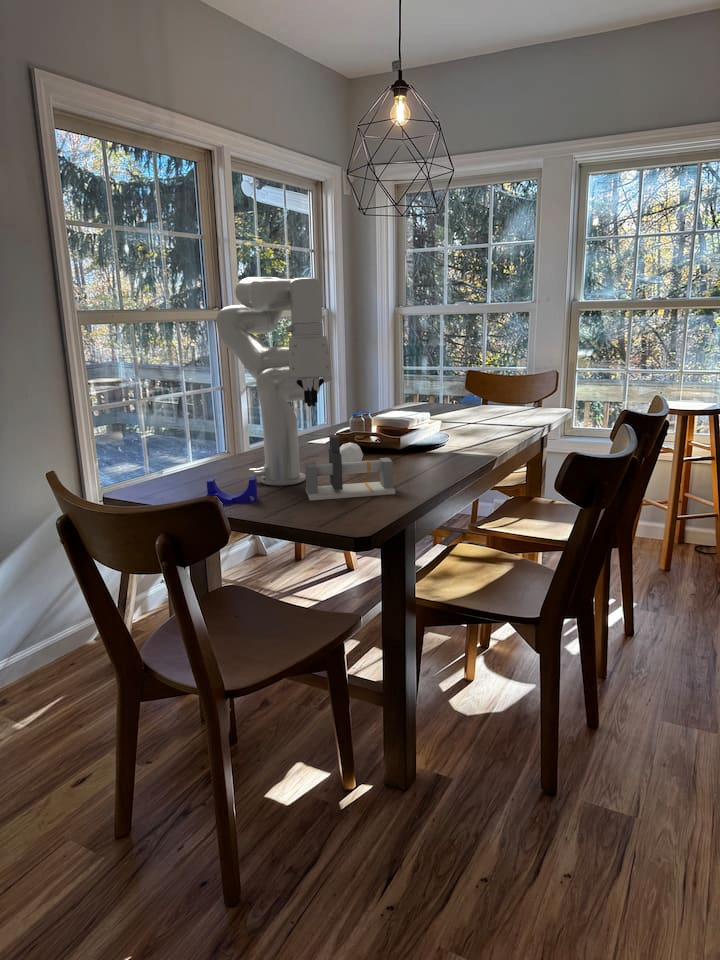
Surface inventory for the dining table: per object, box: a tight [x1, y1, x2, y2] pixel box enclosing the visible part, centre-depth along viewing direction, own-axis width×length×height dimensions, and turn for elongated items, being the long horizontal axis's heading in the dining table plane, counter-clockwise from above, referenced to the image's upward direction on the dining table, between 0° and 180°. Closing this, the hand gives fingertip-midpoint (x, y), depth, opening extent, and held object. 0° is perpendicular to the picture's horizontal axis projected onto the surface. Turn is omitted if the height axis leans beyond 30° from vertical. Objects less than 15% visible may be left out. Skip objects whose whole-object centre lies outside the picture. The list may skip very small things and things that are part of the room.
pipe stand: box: [304, 457, 396, 501], centre depth 174 cm, size 22×10×8 cm, turn 100°
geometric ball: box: [340, 442, 364, 463], centre depth 202 cm, size 8×8×8 cm
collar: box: [328, 434, 344, 490], centre depth 172 cm, size 2×9×13 cm, turn 10°
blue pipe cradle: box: [206, 476, 259, 506], centre depth 168 cm, size 12×4×6 cm, turn 93°
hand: (311, 405), depth 168 cm, fingers closed
